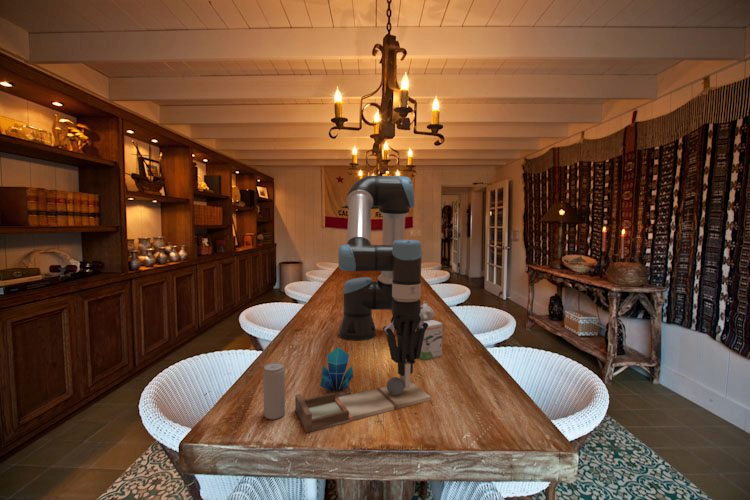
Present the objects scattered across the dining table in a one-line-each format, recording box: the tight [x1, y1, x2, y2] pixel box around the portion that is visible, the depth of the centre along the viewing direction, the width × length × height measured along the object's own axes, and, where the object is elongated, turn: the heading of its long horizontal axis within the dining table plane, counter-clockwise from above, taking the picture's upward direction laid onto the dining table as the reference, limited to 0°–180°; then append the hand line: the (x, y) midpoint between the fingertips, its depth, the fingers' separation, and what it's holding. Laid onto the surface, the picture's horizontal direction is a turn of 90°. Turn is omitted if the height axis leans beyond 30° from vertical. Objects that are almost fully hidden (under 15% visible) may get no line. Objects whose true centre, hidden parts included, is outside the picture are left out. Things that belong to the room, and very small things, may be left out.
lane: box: [294, 380, 432, 434], centre depth 88 cm, size 10×33×4 cm, turn 117°
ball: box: [386, 376, 404, 396], centre depth 92 cm, size 4×4×4 cm
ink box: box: [416, 319, 443, 361], centre depth 122 cm, size 9×5×12 cm, turn 123°
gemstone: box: [319, 346, 354, 398], centre depth 94 cm, size 7×9×12 cm
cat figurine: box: [419, 300, 435, 321], centre depth 166 cm, size 10×8×15 cm
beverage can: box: [262, 362, 286, 421], centre depth 83 cm, size 5×5×12 cm
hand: (405, 385), depth 93 cm, fingers closed
